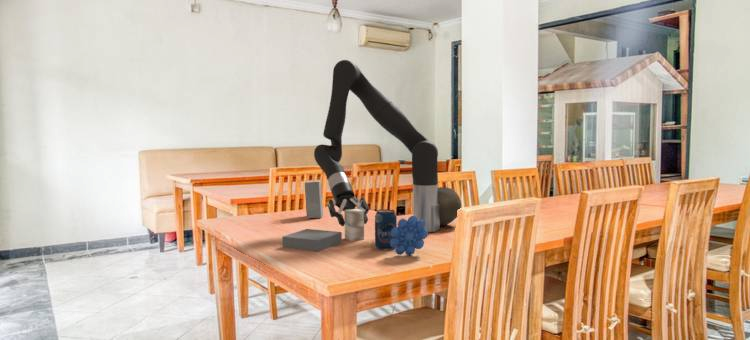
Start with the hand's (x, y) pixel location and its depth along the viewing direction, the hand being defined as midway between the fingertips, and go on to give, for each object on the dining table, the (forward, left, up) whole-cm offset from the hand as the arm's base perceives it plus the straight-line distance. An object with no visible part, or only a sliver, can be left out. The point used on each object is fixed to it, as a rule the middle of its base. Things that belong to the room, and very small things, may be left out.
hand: (354, 223), depth 177 cm
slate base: (+8, +14, -6) cm, 17 cm away
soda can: (-16, +8, -6) cm, 18 cm away
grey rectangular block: (+38, -32, -6) cm, 50 cm away
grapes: (-26, +13, -6) cm, 29 cm away
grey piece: (0, 0, -5) cm, 5 cm away
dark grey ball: (-20, -35, -5) cm, 41 cm away
